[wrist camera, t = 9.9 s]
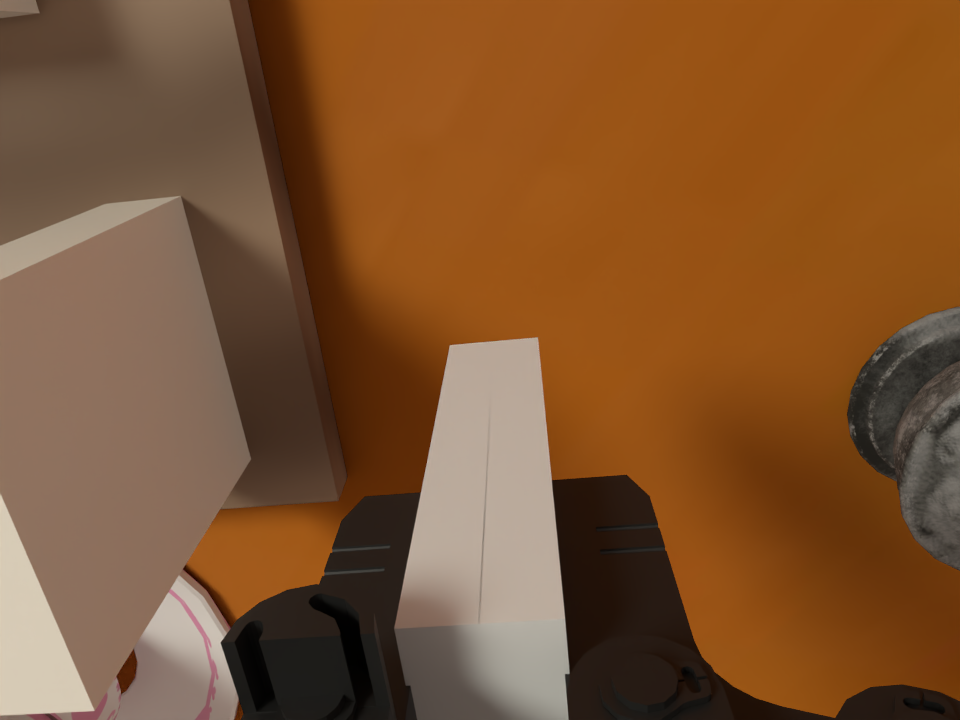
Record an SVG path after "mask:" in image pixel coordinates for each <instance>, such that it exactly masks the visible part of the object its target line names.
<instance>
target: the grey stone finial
mask: <svg viewBox="0 0 960 720" xmlns="http://www.w3.org/2000/svg"><path fill="white" fill-rule="evenodd" d="M847 416H848V423H849V429H850V436H851V438H852V440H853V442H854V444H855V446H856V448H857V450H858V452H859V453H860V455H861V456H862V457H863V458H864V459H865V460H866V461H867V462H868V463H869V464H870V465H871V466H872V467H873V468H874V469H875V470H876V471H877V472H879V473H881V474H883V475H885V476H887V477H889V478H891V479H893V480H895V481H897V486H898V490H899V496H900V505H901V513H902V516H903V518H904V520H905V522H906V524H907V526H908V528H909V530H910V532H911V534H912V536H913V537H914V539H915V540H916V541H917V542H918V543H919V544H920V545H921V546H922V547H923V548H924V549H925V550H927V551H928V552H929V553H930V554H931V555H932V556H933V557H934V558H935V559H937V560H939V561H941V562H943V563H945V564H947V565H949V566H951V567H953V568H955V569H957V570H959V571H960V307H955V308H952V309H948V310H944V311H940V312H937V313H933V314H929V315H927V316H925V317H923V318H921V319H919V320H917V321H915V322H913V323H911V324H909V325H907V326H905V327H903V328H902V329H900V330H899V331H898V332H897V333H895V334H894V335H893V336H892V337H890V338H889V339H888V340H887V341H885V342H884V343H883V344H882V345H880V346H879V347H878V349H877V350H876V351H875V352H874V354H873V355H872V356H871V357H870V359H869V360H868V361H867V362H866V364H865V365H864V366H863V367H862V369H861V371H860V373H859V375H858V378H857V380H856V382H855V384H854V386H853V388H852V390H851V395H850V401H849V407H848V413H847Z"/></svg>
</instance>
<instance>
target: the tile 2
mask: <svg viewBox="0 0 960 720" xmlns="http://www.w3.org/2000/svg"><path fill="white" fill-rule="evenodd" d="M250 460H251V457H250V453H249V449H248V446H247V442H246V438H245V434H244V431H243V427H242V423H241V420H240V416H239V412H238V408H237V405H236V401H235V397H234V393H233V390H232V386H231V382H230V378H229V375H228V371H227V367H226V363H225V360H224V356H223V352H222V348H221V345H220V341H219V337H218V333H217V330H216V326H215V322H214V318H213V315H212V311H211V307H210V304H209V300H208V296H207V292H206V289H205V285H204V281H203V277H202V274H201V270H200V266H199V262H198V259H197V255H196V251H195V247H194V244H193V240H192V236H191V232H190V229H189V225H188V221H187V217H186V214H185V210H184V206H183V202H182V199H181V196H176V197H166V198H157V199H147V200H138V201H128V202H118V203H109V204H104V205H102V206H99V207H96V208H94V209H91V210H89V211H86V212H84V213H81V214H79V215H76V216H74V217H71V218H69V219H66V220H64V221H61V222H59V223H56V224H54V225H51V226H49V227H46V228H44V229H41V230H39V231H36V232H34V233H31V234H29V235H26V236H24V237H21V238H19V239H16V240H14V241H11V242H8V243H6V244H3V245H1V246H0V716H3V715H23V714H44V713H64V712H85V711H95V710H96V708H97V706H98V705H99V703H100V702H101V700H102V698H103V697H104V695H105V694H106V692H107V690H108V689H109V687H110V686H111V684H112V682H113V681H114V679H115V677H116V676H117V674H118V673H119V671H120V669H121V668H122V666H123V665H124V663H125V661H126V660H127V658H128V657H129V655H130V653H131V652H132V650H133V648H134V647H135V645H136V644H137V642H138V640H139V639H140V637H141V636H142V634H143V632H144V631H145V629H146V628H147V626H148V624H149V623H150V621H151V619H152V618H153V616H154V615H155V613H156V611H157V610H158V608H159V607H160V605H161V603H162V602H163V600H164V599H165V597H166V595H167V594H168V592H169V591H170V589H171V587H172V586H173V584H174V582H175V581H176V579H177V578H178V576H179V574H180V573H181V571H182V570H183V568H184V566H185V565H186V563H187V562H188V560H189V558H190V557H191V555H192V553H193V552H194V550H195V549H196V547H197V545H198V544H199V542H200V541H201V539H202V537H203V536H204V534H205V533H206V531H207V529H208V528H209V526H210V524H211V523H212V521H213V520H214V518H215V516H216V515H217V513H218V512H219V510H220V508H221V507H222V505H223V504H224V502H225V500H226V499H227V497H228V496H229V494H230V492H231V491H232V489H233V487H234V486H235V484H236V483H237V481H238V479H239V478H240V476H241V475H242V473H243V471H244V470H245V468H246V467H247V465H248V463H249V462H250Z"/></svg>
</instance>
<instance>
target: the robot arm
mask: <svg viewBox="0 0 960 720" xmlns="http://www.w3.org/2000/svg"><path fill="white" fill-rule="evenodd" d="M332 549H333V551H332V553H330V555H329V558H328V561H327V564H326V567H325V570H324V572H325V574H324V576H322V578H321V581H320V584H319V585H318V584H315V585H310V586H305V587H300V588H295V589H289V590H286V591H284V592H282V593H280V594H277V595H275V596H273V597H271V598H268V599H266V600H264V601H262V602H260V603H258V604H257V605H256V606H255V607H253V608H252V609H251V610H249V611H248V612H247V613H246V614H244V615H243V616H242V617H240V618H239V619H238V620H237V621H236V622H235V623H234V625H233V626H232V627H231V629H230V630H229V632H228V633H227V634H226V636H225V637H224V638H223V640H222V641H221V646H222V649H223V652H224V655H225V658H226V661H227V664H228V667H229V670H230V674H231V677H232V680H233V683H234V686H235V689H236V692H237V695H238V698H239V701H240V704H241V707H242V710H243V713H244V714H243V716H242V719H241V720H960V701H958V700H956V699H953V698H951V697H949V696H947V695H945V694H943V693H940V692H937V691H932V690H927V689H922V688H917V687H912V686H907V685H891V686H879V687H870V688H868V689H866V690H864V691H862V692H860V693H858V694H856V695H854V696H852V697H851V698H849V699H847V700H846V701H845V703H844V705H843V706H842V708H841V710H840V711H839V713H838V714H837V716H836V718H832V717H827V716H823V715H818V714H814V713H809V712H805V711H800V710H796V709H791V708H787V707H782V706H779V705H775V704H772V703H769V702H766V701H763V700H759V699H756V698H754V697H752V696H750V695H748V694H746V693H744V692H743V691H741V690H739V689H737V688H735V687H733V686H732V685H730V684H729V683H728V682H727V681H725V680H724V679H723V678H721V677H720V676H719V675H718V674H716V673H715V672H714V670H713V669H712V667H711V665H709V664H708V663H707V662H706V661H705V660H704V659H703V658H702V656H701V654H700V652H699V650H698V648H697V646H696V644H695V642H694V639H693V636H692V632H691V629H690V626H689V623H688V619H687V616H686V613H685V610H684V606H683V603H682V600H681V597H680V594H679V590H678V587H677V584H676V581H675V577H674V574H673V571H672V568H671V564H670V561H669V558H668V555H667V552H666V551H665V545H664V542H663V539H662V535H661V532H660V529H659V528H658V522H657V519H656V516H655V513H654V509H653V506H652V503H651V500H650V497H649V495H648V494H647V493H645V492H644V491H643V490H642V489H641V488H640V487H639V486H638V485H637V484H636V483H635V482H634V481H633V480H631V479H630V478H629V477H628V476H627V475H618V476H605V477H591V478H577V479H564V480H552V478H551V468H550V458H549V447H548V437H547V427H546V416H545V406H544V396H543V385H542V375H541V365H540V355H539V344H538V337H537V338H526V339H515V340H503V341H492V342H481V343H469V344H458V345H450V348H449V353H448V358H447V363H446V368H445V373H444V378H443V383H442V388H441V393H440V399H439V404H438V409H437V414H436V419H435V424H434V429H433V434H432V439H431V444H430V449H429V454H428V460H427V465H426V470H425V475H424V480H423V485H422V490H421V493H408V494H394V495H380V496H366V497H364V498H363V499H362V500H361V501H360V502H359V503H358V504H357V505H356V506H355V507H354V508H353V509H352V510H351V511H350V513H349V514H348V515H347V516H346V517H345V518H344V519H343V520H342V521H341V524H340V527H339V530H338V533H337V536H336V538H335V541H334V544H333V547H332Z"/></svg>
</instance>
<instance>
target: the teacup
mask: <svg viewBox="0 0 960 720" xmlns="http://www.w3.org/2000/svg"><path fill="white" fill-rule="evenodd" d="M230 629H231V628H230V626H229V625H228V623H227V622H226V620H225V618H224V617H223V615H222V614H221V612H220V611H219V609H218V607H217V606H216V604H215V603H214V601H213V599H212V598H211V596H210V595H209V593H208V592H207V590H206V589H205V588H204V587H202V586H201V585H200V584H199V583H198V582H197V581H196V580H194V579H193V578H192V577H191V576H190V575H189V574H188V573H187V572H185V571H184V570H182V571H181V573H180V574H179V576H178V578H177V579H176V581H175V582H174V584H173V586H172V587H171V589H170V591H169V592H168V594H167V595H166V597H165V599H164V600H163V602H162V603H161V605H160V607H159V608H158V610H157V611H156V613H155V615H154V616H153V618H152V619H151V621H150V623H149V624H148V626H147V628H146V629H145V631H144V632H143V634H142V636H141V637H140V639H139V640H138V642H137V644H136V645H135V647H134V648H133V649H134V652H135V656H136V659H137V668H136V675H135V679H134V680H133V682H132V683H131V685H130V686H129V688H128V689H127V691H125V692H124V693H122V694H121V690H120V686H119V683H118V680H117V677H115V679H114V681H113V682H112V684H111V686H110V687H109V689H108V690H107V692H106V694H105V695H104V697H103V698H102V700H101V702H100V703H99V705H98V706H97V708H96V710H95V711H85V712H64V713H44V714H23V715H3V716H0V720H235V717H236V713H237V708H238V704H239V698H238V695H237V692H236V689H235V686H234V683H233V680H232V677H231V674H230V670H229V667H228V664H227V661H226V658H225V655H224V652H223V649H222V646H221V641H222V640H223V638H224V637H225V636H226V634H227V633H228V632H229V630H230Z"/></svg>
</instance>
